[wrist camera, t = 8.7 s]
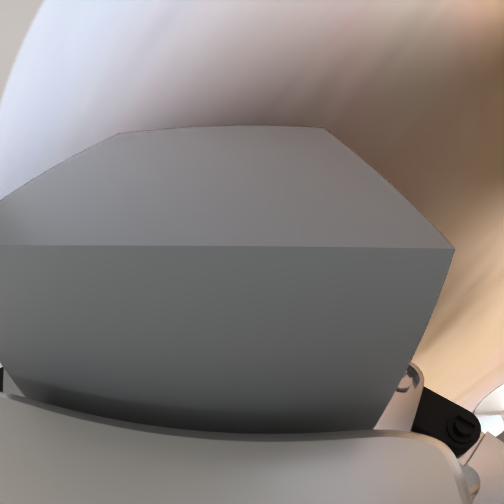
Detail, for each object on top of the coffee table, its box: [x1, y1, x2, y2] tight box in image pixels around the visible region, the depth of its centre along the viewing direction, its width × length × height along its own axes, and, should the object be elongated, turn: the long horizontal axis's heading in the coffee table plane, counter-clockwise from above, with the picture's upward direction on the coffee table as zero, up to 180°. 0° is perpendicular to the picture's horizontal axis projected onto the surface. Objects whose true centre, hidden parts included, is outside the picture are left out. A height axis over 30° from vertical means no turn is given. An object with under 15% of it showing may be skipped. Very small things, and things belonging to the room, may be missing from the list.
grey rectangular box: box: [0, 126, 455, 434], centre depth 10 cm, size 11×8×9 cm
